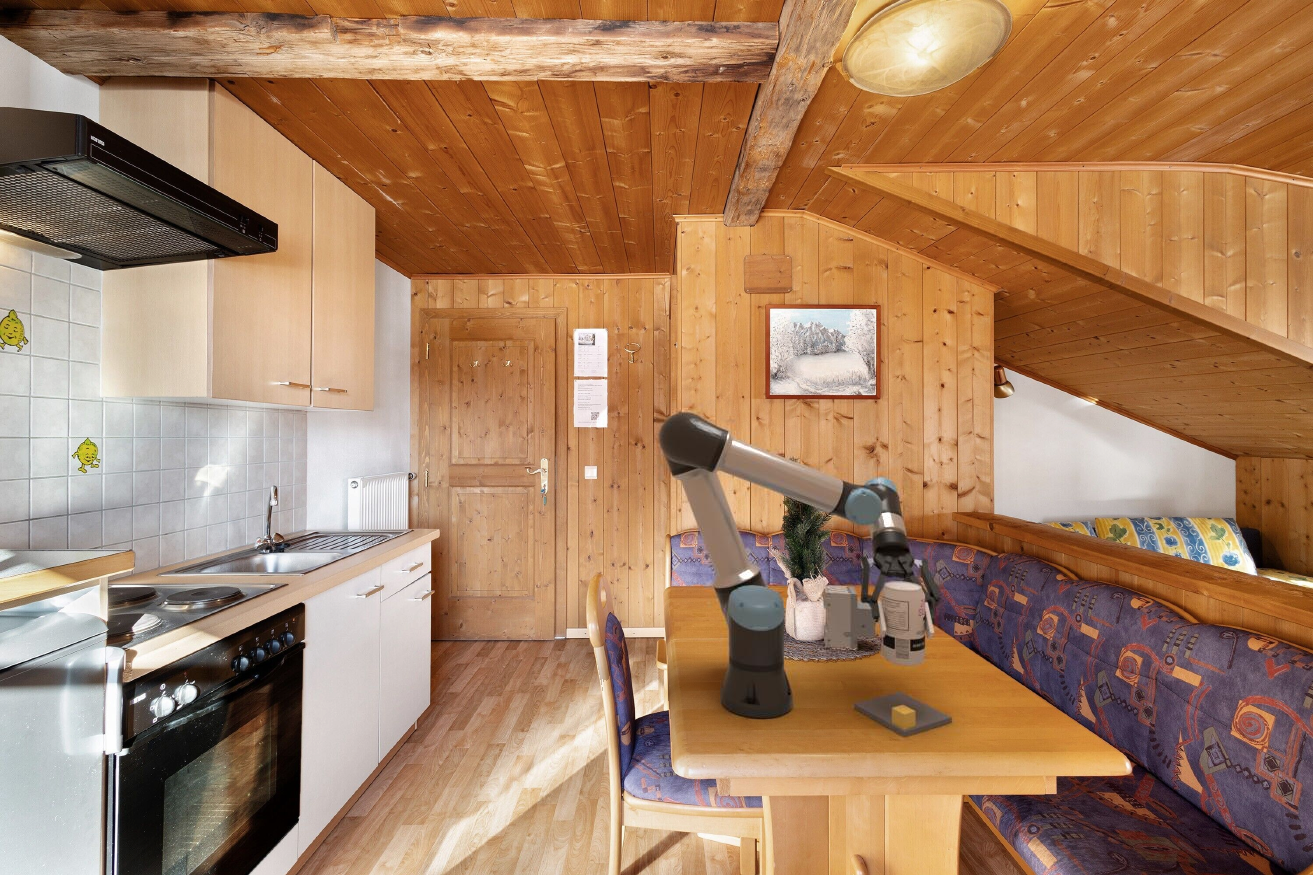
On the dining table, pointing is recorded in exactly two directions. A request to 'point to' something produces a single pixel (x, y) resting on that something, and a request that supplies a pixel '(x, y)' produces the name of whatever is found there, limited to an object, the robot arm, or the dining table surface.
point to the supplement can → (903, 623)
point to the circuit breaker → (846, 617)
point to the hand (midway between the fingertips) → (907, 634)
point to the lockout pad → (902, 699)
